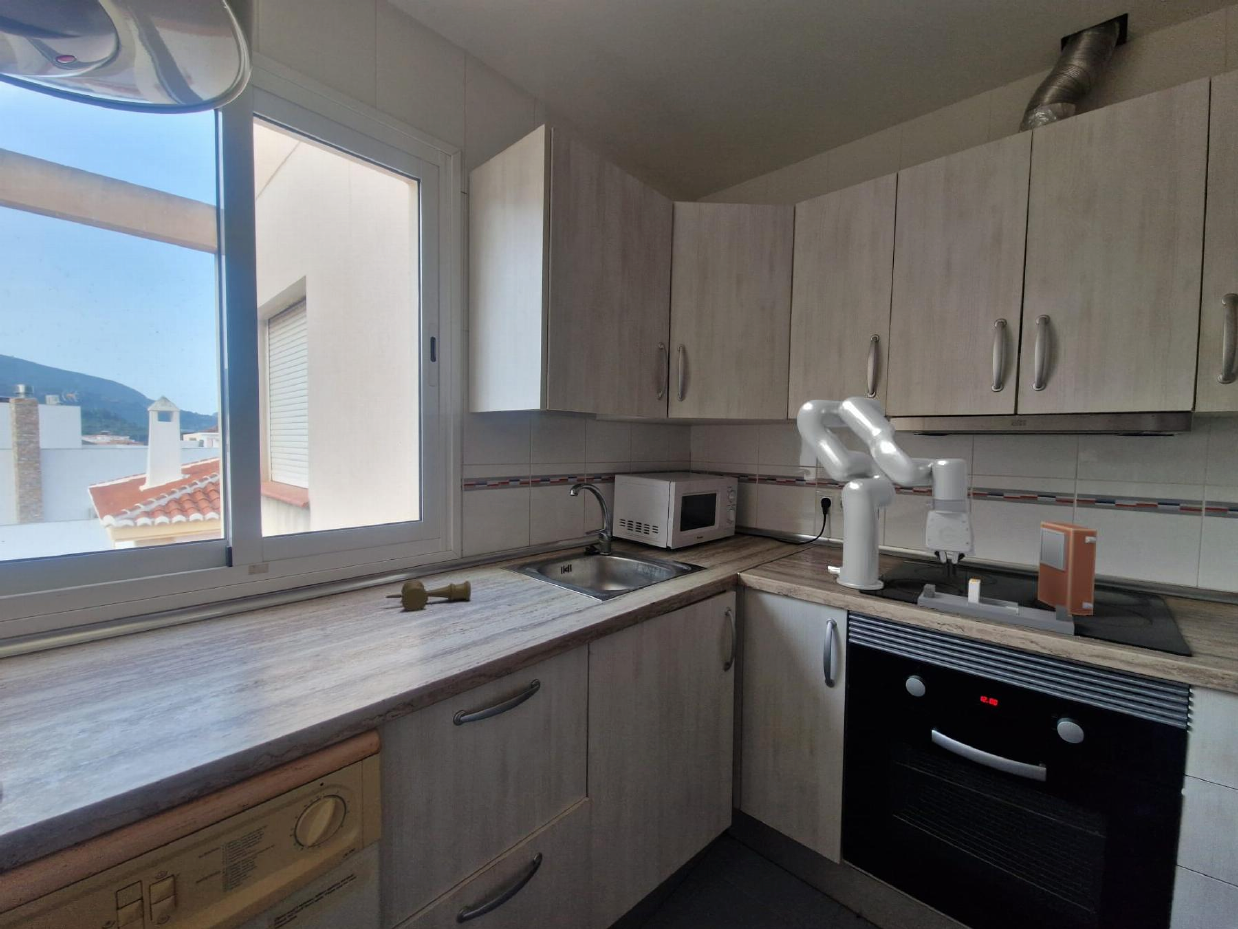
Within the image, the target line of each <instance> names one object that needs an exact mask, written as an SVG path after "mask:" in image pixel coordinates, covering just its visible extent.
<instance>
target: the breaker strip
mask: <svg viewBox="0 0 1238 929" xmlns="http://www.w3.org/2000/svg"><path fill="white" fill-rule="evenodd" d="M918 605H919V606H918ZM917 606H918V607H920V606H925V607H928V608H927V609H930V608H935V609H934V610H936V609H938V610H937V611H942V612H946V611H948V613H953V614H957V613H959V614H958V615H962V616H969V617H975V618H978V619H979V618H980V619H985V620H988V621H989V620H990V621H995V622H1000V623H1006V624H1011V625H1018V626H1022V627H1028V628H1032V629H1033V628H1034V629H1039V630H1043V631H1050V632H1055V633H1060V634H1065V635H1070V636H1074V635H1075V623H1074V618H1073V615H1072V614H1068V608H1067V606H1062V605H1056V608H1055V611H1050V610H1044V609H1039V608H1034V607H1025V606H1021V605H1019V604H1018V602H1014V601H1007V600H1001V599H996V598H989V597H982V596H980V601H979V603H975V602H969V601H968V597H966V596H960V595H955V594H949V593H942V592H937V591H936V584H929V583H926V584H925V585H924V586H923V591H922V593H921V594H920V595H919V596H918V598H917ZM925 607H924V608H925Z"/></svg>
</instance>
